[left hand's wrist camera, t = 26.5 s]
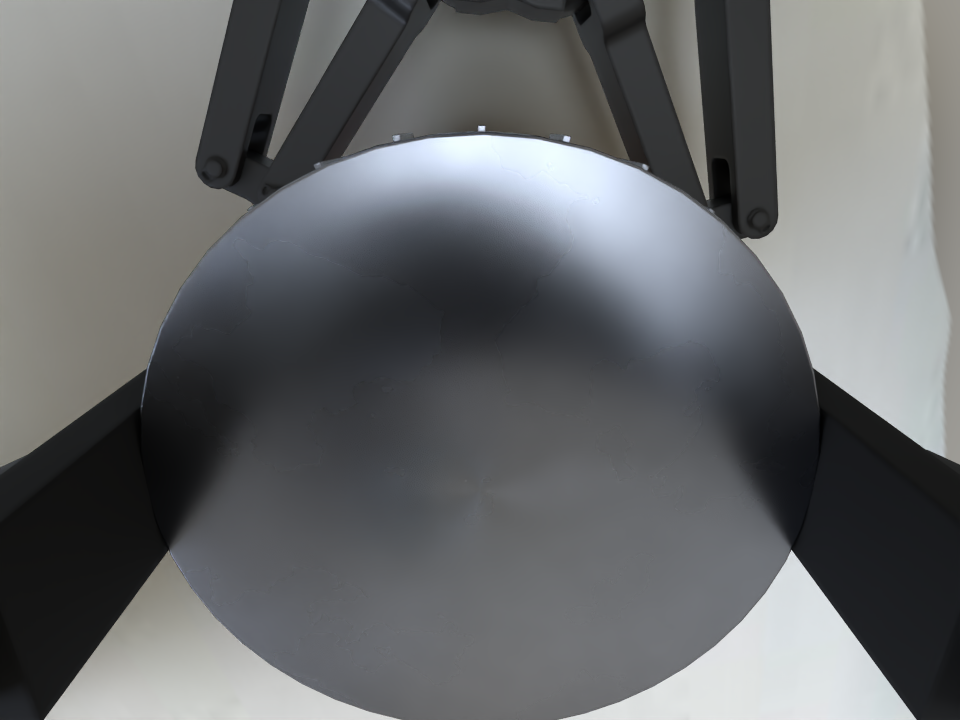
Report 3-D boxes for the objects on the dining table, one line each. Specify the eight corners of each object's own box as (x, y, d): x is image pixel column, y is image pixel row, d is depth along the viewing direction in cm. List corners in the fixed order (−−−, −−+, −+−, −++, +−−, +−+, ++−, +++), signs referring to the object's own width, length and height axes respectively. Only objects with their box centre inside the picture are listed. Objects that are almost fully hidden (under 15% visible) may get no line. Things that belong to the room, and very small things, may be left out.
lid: (79, 371, 12) (-16, 429, 9) (550, -29, 9) (573, -78, 7) (434, 703, 15) (426, 806, 13) (854, 468, 13) (936, 544, 10)
